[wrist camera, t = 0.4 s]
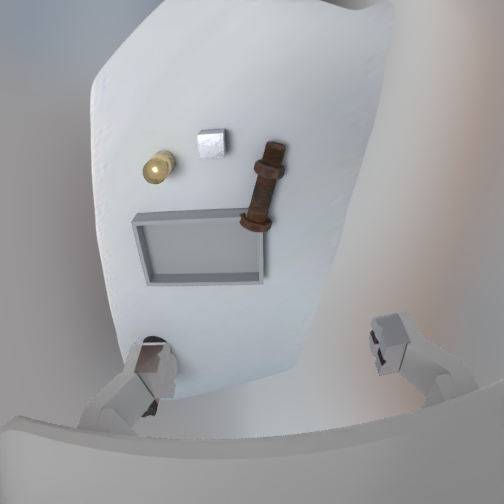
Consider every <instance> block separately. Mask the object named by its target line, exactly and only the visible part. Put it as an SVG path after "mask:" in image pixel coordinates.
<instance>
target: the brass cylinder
mask: <svg viewBox="0 0 504 504" xmlns="http://www.w3.org/2000/svg"><path fill="white" fill-rule="evenodd" d="M174 165H175V159H174V156H173V155H172V154H171V153H170V152H168V151H159V152H158V153H156V154H155V155H154V156H153V157H152V158H151V159H150V160H149V161H148V162H147V163H146V164H145V166H144V167H143V176H144V178H145V179H146V181H148V182H149V183H151V184H159V183H161V182H163V181H164V180H165V178H166V177H167V175H168V174H169V173H170V171H171V170H172V169H173V167H174Z"/></svg>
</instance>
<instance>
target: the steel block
mask: <svg viewBox="0 0 504 504" xmlns="http://www.w3.org/2000/svg"><path fill="white" fill-rule="evenodd" d="M197 138H198V150H199V159H211V158H225V154H226V138H225V129H214V130H201V131H200V132H199V133H198V135H197Z"/></svg>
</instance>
